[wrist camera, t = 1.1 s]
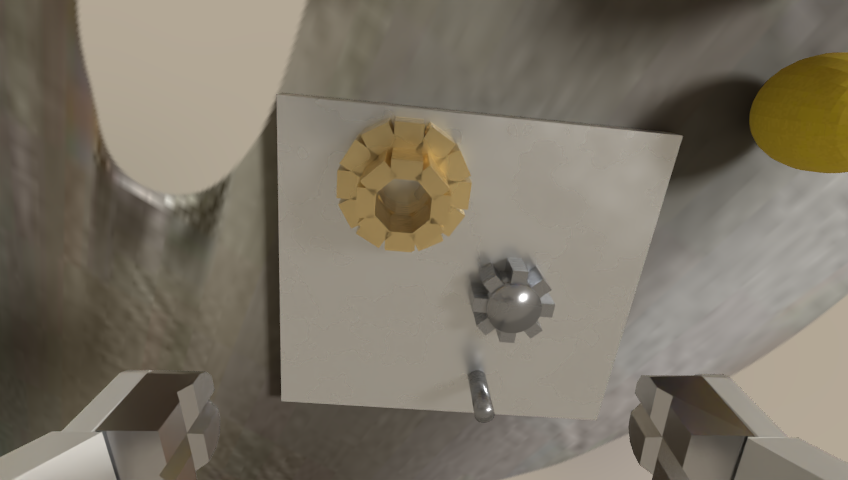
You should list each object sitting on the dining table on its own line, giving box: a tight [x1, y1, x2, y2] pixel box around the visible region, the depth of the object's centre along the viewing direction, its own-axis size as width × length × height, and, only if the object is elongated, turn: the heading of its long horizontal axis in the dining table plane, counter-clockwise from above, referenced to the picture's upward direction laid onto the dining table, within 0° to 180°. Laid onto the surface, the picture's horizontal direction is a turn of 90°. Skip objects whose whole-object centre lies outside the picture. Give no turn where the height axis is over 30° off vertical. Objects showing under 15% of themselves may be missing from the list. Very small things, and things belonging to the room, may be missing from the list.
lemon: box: [749, 53, 848, 173], centre depth 22 cm, size 6×6×8 cm
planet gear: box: [336, 116, 472, 252], centre depth 24 cm, size 7×7×5 cm
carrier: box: [277, 93, 683, 423], centre depth 27 cm, size 22×20×5 cm
